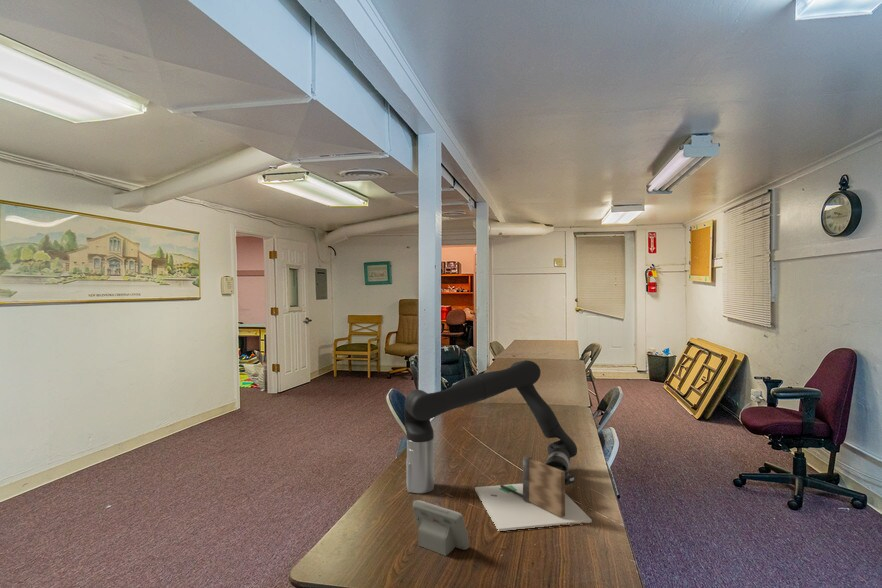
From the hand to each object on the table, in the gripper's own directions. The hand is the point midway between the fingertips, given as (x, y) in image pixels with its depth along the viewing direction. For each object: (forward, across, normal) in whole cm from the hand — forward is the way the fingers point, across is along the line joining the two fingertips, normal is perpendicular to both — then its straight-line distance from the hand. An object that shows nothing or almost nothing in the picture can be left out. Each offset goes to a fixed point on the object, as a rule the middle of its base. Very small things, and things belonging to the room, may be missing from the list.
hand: (550, 487), depth 143 cm
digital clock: (+27, -26, +8) cm, 38 cm away
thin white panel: (-3, -7, +8) cm, 11 cm away
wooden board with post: (-3, -7, +6) cm, 10 cm away
